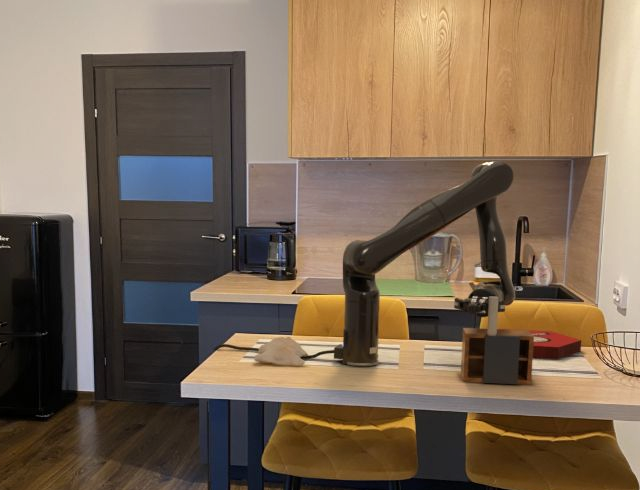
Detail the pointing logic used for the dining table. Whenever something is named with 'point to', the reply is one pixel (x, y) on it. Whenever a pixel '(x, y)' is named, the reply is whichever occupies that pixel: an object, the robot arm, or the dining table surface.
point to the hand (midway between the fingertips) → (473, 309)
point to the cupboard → (475, 354)
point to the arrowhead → (281, 352)
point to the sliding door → (499, 351)
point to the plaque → (553, 345)
